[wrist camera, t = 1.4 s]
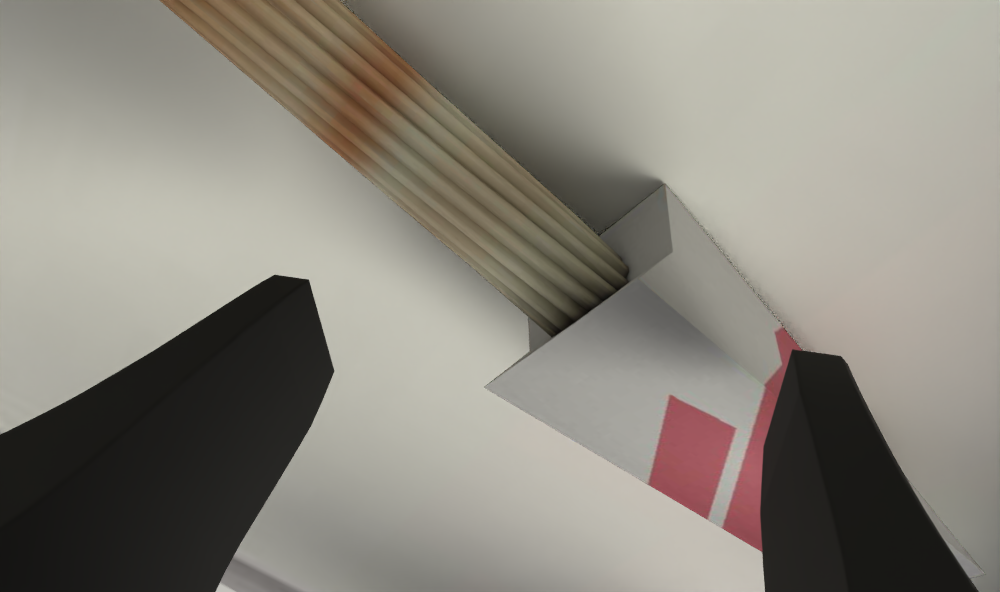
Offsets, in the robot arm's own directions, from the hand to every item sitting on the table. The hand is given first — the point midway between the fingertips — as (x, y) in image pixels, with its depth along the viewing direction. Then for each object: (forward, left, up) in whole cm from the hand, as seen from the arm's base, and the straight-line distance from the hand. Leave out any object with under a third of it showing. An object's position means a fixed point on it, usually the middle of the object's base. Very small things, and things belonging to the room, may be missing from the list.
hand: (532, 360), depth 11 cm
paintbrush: (0, 0, -4) cm, 4 cm away
